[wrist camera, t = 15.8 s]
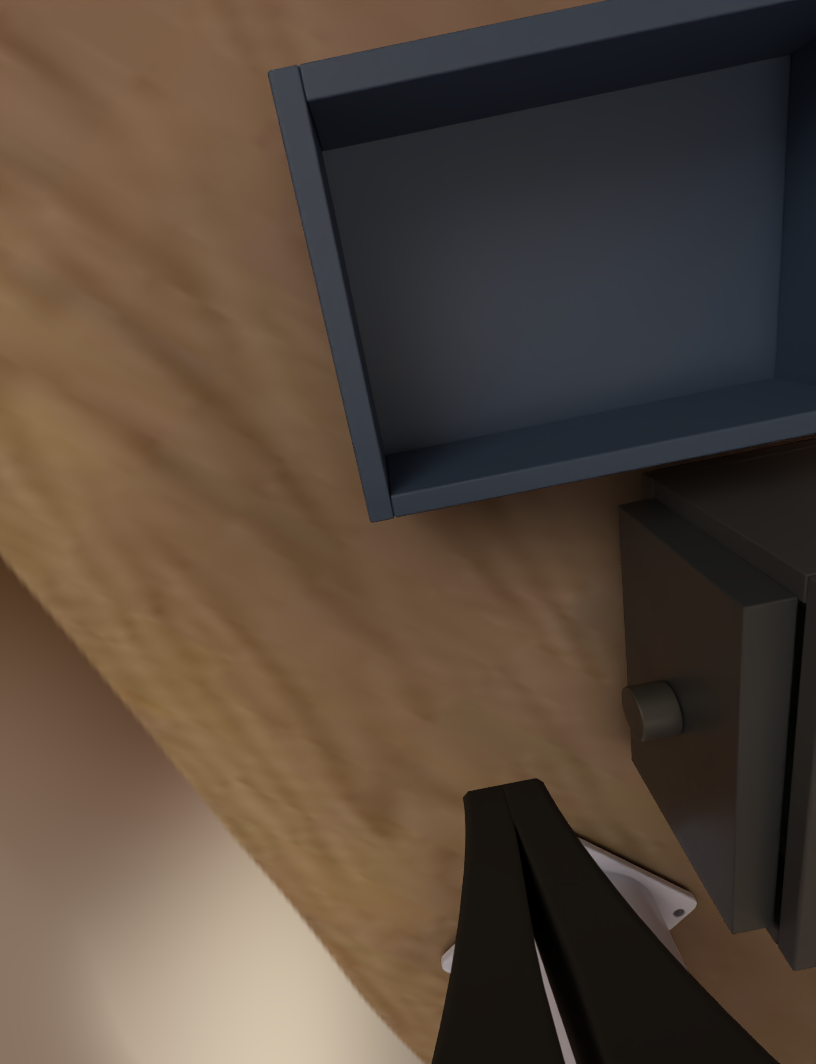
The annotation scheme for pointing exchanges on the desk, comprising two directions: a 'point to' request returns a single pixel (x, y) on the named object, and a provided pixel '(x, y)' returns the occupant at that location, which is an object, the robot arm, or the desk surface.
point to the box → (563, 242)
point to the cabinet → (812, 575)
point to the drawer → (712, 702)
